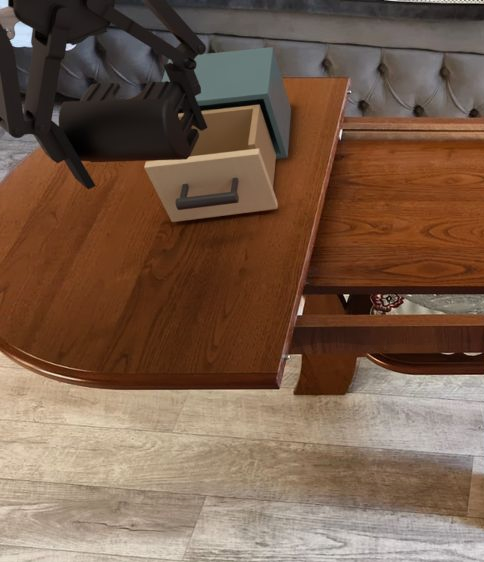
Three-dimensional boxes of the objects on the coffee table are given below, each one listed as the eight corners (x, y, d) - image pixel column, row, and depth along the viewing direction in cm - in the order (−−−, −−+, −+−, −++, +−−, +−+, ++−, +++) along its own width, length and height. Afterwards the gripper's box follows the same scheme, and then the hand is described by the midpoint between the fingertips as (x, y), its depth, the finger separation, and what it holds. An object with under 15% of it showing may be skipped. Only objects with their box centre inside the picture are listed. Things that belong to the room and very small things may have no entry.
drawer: (275, 230, 86) (255, 175, 80) (166, 244, 85) (137, 189, 78) (281, 156, 97) (264, 102, 90) (184, 168, 95) (160, 114, 89)
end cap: (83, 179, 66) (47, 120, 61) (110, 136, 71) (79, 78, 66) (185, 176, 66) (157, 117, 61) (205, 133, 71) (181, 75, 66)
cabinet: (287, 158, 98) (267, 93, 90) (183, 170, 96) (153, 105, 89) (291, 109, 106) (273, 46, 99) (195, 120, 105) (169, 57, 97)
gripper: (145, -130, 60) (225, 88, 76) (-165, -40, 48) (7, 196, 64) (191, -112, 56) (264, 113, 72) (-131, -11, 45) (42, 231, 61)
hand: (144, 152), depth 68 cm, fingers closed on end cap, 11 cm apart
